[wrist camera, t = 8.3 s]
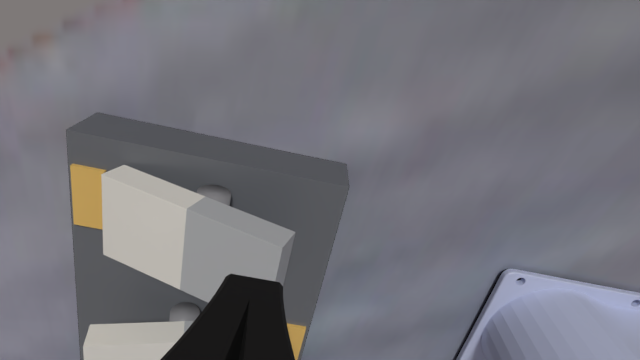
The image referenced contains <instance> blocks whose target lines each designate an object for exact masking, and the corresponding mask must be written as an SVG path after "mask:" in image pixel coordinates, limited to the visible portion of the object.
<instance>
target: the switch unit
mask: <svg viewBox="0 0 640 360" xmlns="http://www.w3.org/2000/svg"><path fill="white" fill-rule="evenodd" d="M66 139H67V155H68V171H69V186H70V202H71V218H72V234H73V250H74V266H75V281H76V297H77V313H78V329H79V345H80V360H84V356H83V345H84V342H85V339H86V335H87V332H88V329H89V326H90V324H117V323H146V322H169V318H170V310H171V309H172V307H173V306H175V305H176V304H178V303H181V302H190V303H193V304H195V305H197V306H198V308H199V310H200V313H201V312H202V311H203V310H204V308H205V307H206V306H207V304H208V302H206V301H203V300H201V299H199V298H197V297H195V296H193V295H190V294H188V293H186V292H184V291H182V290H180V289H177V288H175V287H173V286H171V285H169V284H166V283H164V282H162V281H160V280H158V279H156V278H153V277H151V276H149V275H147V274H145V273H143V272H140V271H138V270H136V269H134V268H132V267H129V266H127V265H125V264H123V263H121V262H119V261H116V260H114V259H112V258H110V257H108V256H106V255H103V223H102V180H101V174H103V173H105V172H108V171H110V170H113V169H115V168H117V167H120V166H122V165H127V166H129V167H132V168H134V169H137V170H139V171H142V172H144V173H147V174H149V175H152V176H154V177H157V178H160V179H162V180H165V181H167V182H170V183H172V184H175V185H177V186H180V187H182V188H185V189H188V190H190V191H193V192H195V193H197V189H198V188H199V187H201V186H204V185H210V184H213V185H220V186H223V187H225V188H227V189H229V190H230V192H231V200H230V206H231V207H233V208H236V209H238V210H241V211H243V212H246V213H248V214H251V215H254V216H256V217H259V218H261V219H264V220H266V221H269V222H271V223H274V224H276V225H279V226H281V227H284V228H287V229H289V230H292V231H294V232H295V237H294V241H293V245H292V250H291V254H290V258H289V263H288V267H287V271H286V276H285V280H284V284H283V301H284V309H285V316H286V322H287V327H288V332H289V337H290V341H291V345H292V349H293V353H294V357H295V360H301V356H302V353H303V349H304V346H305V342H306V339H307V335H308V331H309V328H310V324H311V321H312V317H313V314H314V310H315V307H316V303H317V300H318V296H319V293H320V289H321V286H322V282H323V279H324V275H325V272H326V268H327V264H328V261H329V257H330V254H331V250H332V247H333V243H334V240H335V236H336V233H337V229H338V226H339V222H340V219H341V215H342V212H343V208H344V205H345V201H346V197H347V194H348V190H349V180H348V172H347V164H343V163H338V162H334V161H329V160H324V159H319V158H314V157H309V156H305V155H300V154H295V153H290V152H285V151H280V150H276V149H271V148H266V147H261V146H256V145H251V144H247V143H242V142H237V141H232V140H227V139H223V138H218V137H213V136H208V135H203V134H198V133H194V132H189V131H184V130H179V129H174V128H169V127H165V126H160V125H155V124H150V123H145V122H140V121H136V120H131V119H126V118H121V117H116V116H111V115H107V114H102V113H96V114H94V115H92V116H90V117H88V118H86V119H85V120H83V121H81V122H79V123H77V124H76V125H74V126H72V127H70V128H68V129H66Z"/></svg>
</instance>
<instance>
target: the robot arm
mask: <svg viewBox="0 0 640 360" xmlns="http://www.w3.org/2000/svg"><path fill="white" fill-rule="evenodd" d="M519 278H521V279H520V280H517V279H519ZM160 360H295V357H294V353H293V349H292V345H291V341H290V337H289V332H288V327H287V322H286V316H285V309H284V301H283V286H282V285H281V283H280V282H276V281H270V280H264V279H259V278H253V277H247V276H242V275H236V274H229V275H227V276H226V277H225V279H224V280H223V282H222V284H221V285H220V287H219V289H218V290H217V292H216V293H215V295H214V296H213V297H212V299H211V300H210V302H209V303H208V304H207V306H206V307H205V308H204V310H203V311H202V312H201V313H200V315H199V316H198V317H197V318H196V320H195V321H194V322H193V323H192V324H191V326H190V327H189V328H188V329H187V330H186V332H185V333H184V334H183V335H182V336H181V338H180V339H179V340H178V341H177V342H176V343H175V344H174V345H173V347H172V348H171V349H170V350H169V351H168V352H167V353H166V354H165V355H164V356H163V357H162V358H161V359H160ZM456 360H640V293H637V292H632V291H627V290H622V289H616V288H611V287H606V286H601V285H595V284H590V283H585V282H580V281H575V280H569V279H564V278H559V277H554V276H548V275H543V274H538V273H533V272H527V271H522V270H517V269H507V270H505V271H504V272H503V273H502V274H501V276H500V277H499V279H498V281H497V283H496V285H495V287H494V289H493V291H492V293H491V294H490V296H489V298H488V300H487V302H486V304H485V306H484V308H483V310H482V312H481V313H480V315H479V317H478V319H477V321H476V323H475V325H474V327H473V329H472V330H471V332H470V334H469V336H468V338H467V340H466V342H465V344H464V346H463V347H462V349H461V351H460V353H459V355H458V357H457V359H456Z"/></svg>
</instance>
